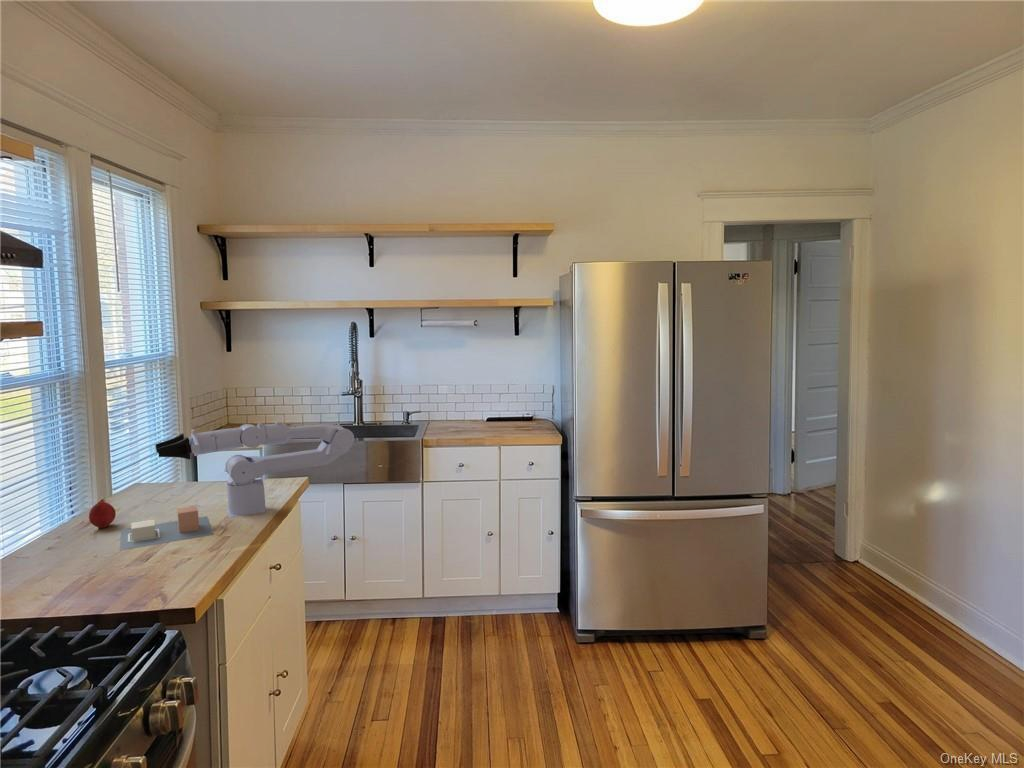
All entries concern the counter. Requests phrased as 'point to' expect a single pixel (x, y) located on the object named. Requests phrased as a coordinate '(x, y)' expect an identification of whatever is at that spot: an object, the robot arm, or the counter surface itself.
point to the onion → (102, 514)
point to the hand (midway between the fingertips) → (157, 450)
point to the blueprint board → (159, 533)
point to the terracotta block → (188, 519)
